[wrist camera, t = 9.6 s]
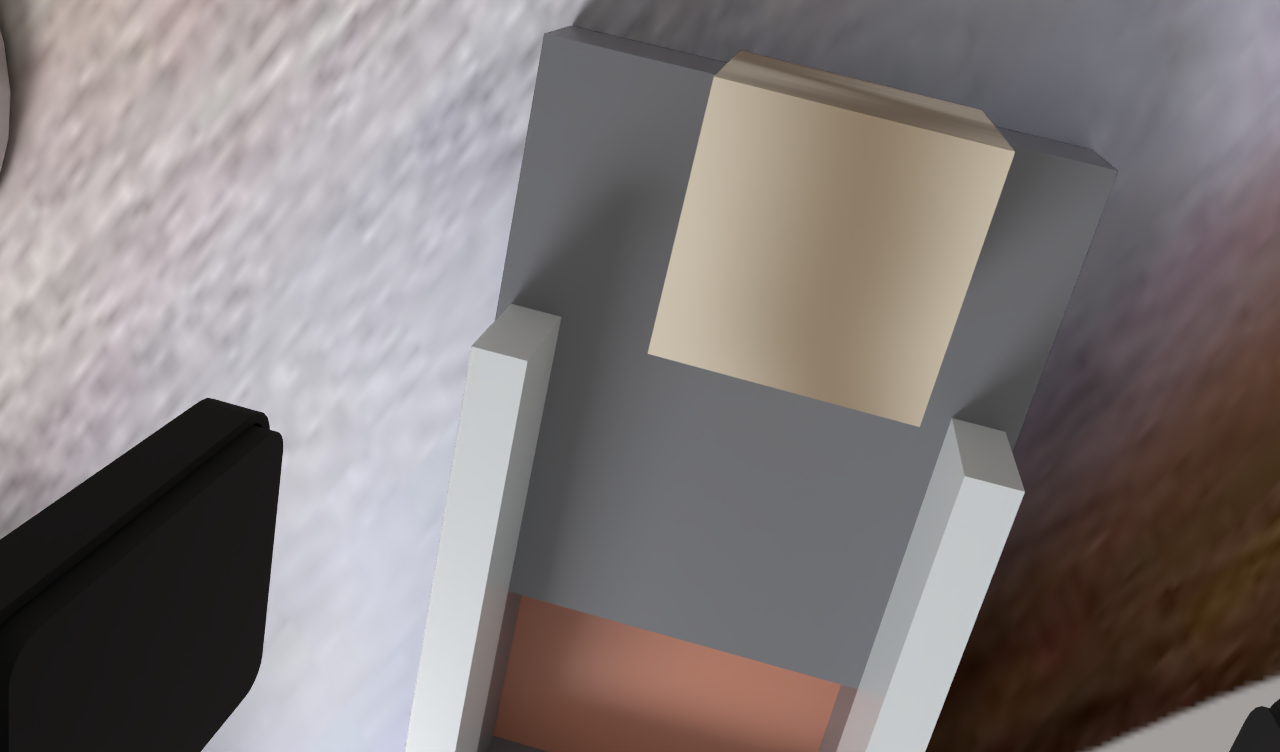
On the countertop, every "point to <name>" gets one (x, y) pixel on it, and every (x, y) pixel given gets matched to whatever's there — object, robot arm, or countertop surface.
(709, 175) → the block
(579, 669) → the gray tray
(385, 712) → the countertop surface
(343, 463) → the countertop surface
